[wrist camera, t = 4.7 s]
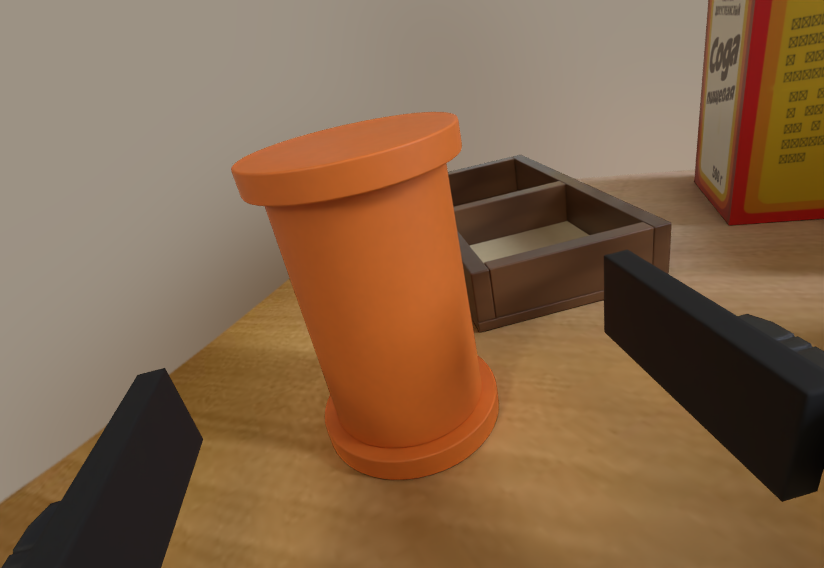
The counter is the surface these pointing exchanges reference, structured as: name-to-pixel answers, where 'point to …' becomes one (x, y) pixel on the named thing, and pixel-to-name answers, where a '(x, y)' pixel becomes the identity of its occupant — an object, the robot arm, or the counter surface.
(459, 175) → the divided tray
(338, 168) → the spool
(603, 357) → the counter surface
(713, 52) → the baking soda box
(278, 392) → the counter surface
